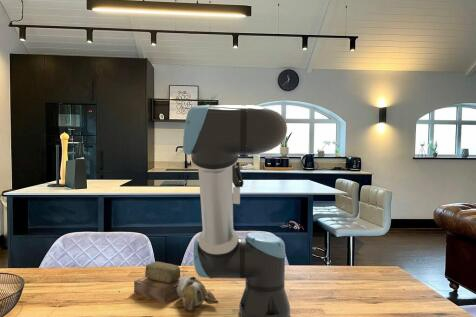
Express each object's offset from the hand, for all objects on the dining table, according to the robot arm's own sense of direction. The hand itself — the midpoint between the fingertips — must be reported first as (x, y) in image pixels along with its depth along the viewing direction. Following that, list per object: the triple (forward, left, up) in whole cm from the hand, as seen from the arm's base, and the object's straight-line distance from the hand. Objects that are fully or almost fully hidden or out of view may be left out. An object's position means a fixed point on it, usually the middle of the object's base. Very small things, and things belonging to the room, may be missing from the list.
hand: (226, 206), depth 135 cm
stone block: (+10, +24, -23) cm, 34 cm away
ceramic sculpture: (-5, +25, -27) cm, 37 cm away
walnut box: (+10, +24, -27) cm, 37 cm away
